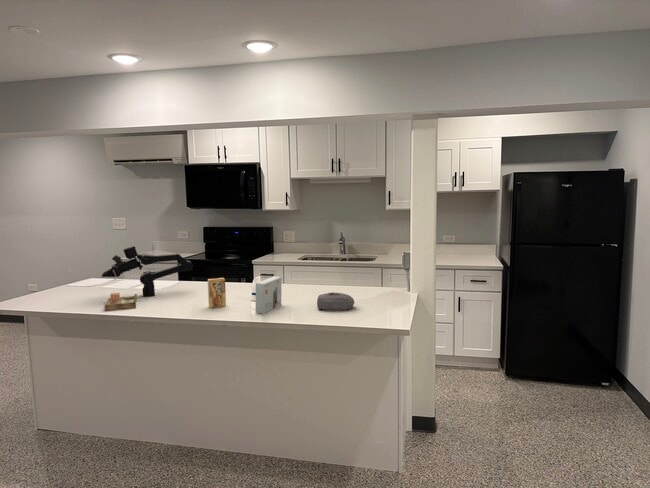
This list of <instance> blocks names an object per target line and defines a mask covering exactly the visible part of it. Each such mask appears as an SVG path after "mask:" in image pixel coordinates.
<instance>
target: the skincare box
mask: <svg viewBox="0 0 650 488" xmlns="http://www.w3.org/2000/svg"><path fill="white" fill-rule="evenodd" d="M282 280H283V279H282V276H275V275H274V276H271V277H269V278H266V279H263V280H260V281H258V282H255V314H262V315H264V314H266V313H268V312H270V311H272V310H274V309H276V308H277V306H278V307H280V306H281V305H282ZM279 305H280V306H279Z"/></svg>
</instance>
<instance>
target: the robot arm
mask: <svg viewBox="0 0 650 488" xmlns="http://www.w3.org/2000/svg"><path fill="white" fill-rule="evenodd" d="M122 250H123V253H124V256H125V258H126V259H127V261H126V260H124V261H123V259H122V258H121V256H119V255H117V254H116V255H114V256H113V257H112V258H111V260H112V261H114V262H115V263H114V264H112V265H111V268H110V269H108V270H105V271H103V272H102V274H101V278H105V277H106V278H119V277H121V275H122V274H124V273H126V272H130V271H132V270H135V269H138V268H139V270H140V271H141V270H142V268H143V267H144V266H149V265H153V264H155V263H161V262H162V263H163V262H172V261H176V262H177V263H179V264H177V265H174V266H172V267H167V268H165V269H162V270H158V271H154V272H151V270H148V271H147V272H146V271H145V272H143V273H141V275H140V276H139V281H140V284H141V285H143V287H142V296H143V297H144V298H145V297H155V296H156V291H155V281H156V280H157V279H160V278H163V277H166V276H170V275H173V274H177V273H180V272H190V271H192V270H193V268H194V264H193V263H192V262H191V260H189V259H188V260H186V258H184V257H183V256H182V255H181V254H179V253H174V254H173V253H172V254H170V253H169V254H159V255H154V254H140V253H138V252H137V249H136V246H134V245H133V246H130V247H129V246H128V247H126V248H124V249H122Z"/></svg>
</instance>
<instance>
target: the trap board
mask: <svg viewBox="0 0 650 488" xmlns="http://www.w3.org/2000/svg"><path fill="white" fill-rule="evenodd" d="M137 301H138V295H137V293H135V294H134V295H132V296H130V295H129V296H120V300H112V301H111V299H110V297H109V298H108V300H107V302H106V304H105V305H104V309H105V312H111V311H121V310H133V309H137Z"/></svg>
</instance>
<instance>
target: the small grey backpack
mask: <svg viewBox="0 0 650 488" xmlns="http://www.w3.org/2000/svg"><path fill="white" fill-rule="evenodd" d="M354 305H355V300H354V298H353V297H352V296H350V295H349V294H347V293H342V292H332V291H331V292H328V293H327V292H325V293H321V294H319V295H318V296H317V300H316V307H317V309H318V310H320V309H324V310H323V311H328V310H342V311H347V309H349V310H351V308H352V307H353V308H354ZM353 308H352V309H353Z"/></svg>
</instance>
